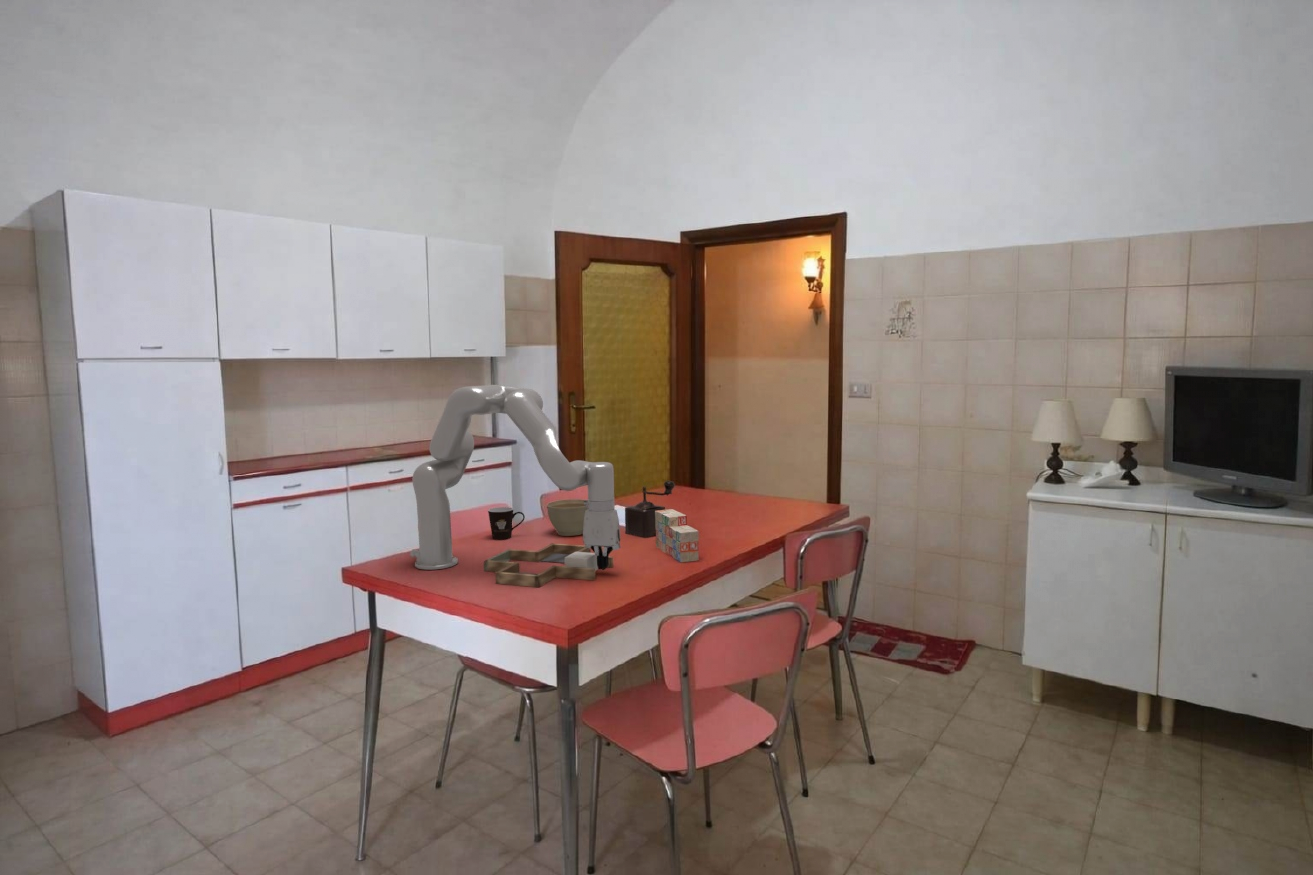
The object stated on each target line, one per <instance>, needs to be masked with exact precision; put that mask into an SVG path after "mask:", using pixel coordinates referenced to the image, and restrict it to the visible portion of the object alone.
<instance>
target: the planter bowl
mask: <svg viewBox="0 0 1313 875" xmlns="http://www.w3.org/2000/svg"><path fill="white" fill-rule="evenodd" d="M587 500H588V499H584V498H583V499H581V498H575V499H574V498H572V499H560V500H559V499H558V500H554V501H550V502H548V503H547V504H546V509H547V516H548V519H549V521H550V523H551V525H552V526H553V528H554V529H555V530H556V532H557V535H559V536H562V537H563V536H564V537H569V536H570V537H571V536H572V537H574V536H580V535H583V524H584V516H585V511H586V510H588V508H587V506H586V505H584V501H587Z"/></svg>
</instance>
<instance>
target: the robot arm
mask: <svg viewBox="0 0 1313 875" xmlns="http://www.w3.org/2000/svg"><path fill="white" fill-rule="evenodd" d="M543 408H544V401H543V398H542V395H541V394H539V393H538V391H535V390H533V389H530V388H524V387H523V388H522V387H516V386H515V387H514V386H508V385H501V384H500V385H499V384H487V385H485V384H484V385H472V386H470V385H469V386H463V387H459V388H457V389H455V390H454V391H453V392H452V393H451V394H450V395H449V397H448V399H447V401H446V404H445V407H444V410H443V412H442V414H441V416H440V419H439V422H438V424H437V425H436V427H435V430H434V432H433V435H432V438H431V439H430V443H429V453H430V455H431V457H432V458H434V459H433V460H429V461H425V462H424V463H421V464H420V465H419V466H417V467H416V468H415V470H414V471H413V474H412V480H411V481H412V487H413V490H414V494H415V495H414V496H415V500H416V510H417V511H416V512H417V513H416V514H417V528H418V531H417V532H418V548H419V549H416V548H413V549H411V552H409V557H411V558H416V561H415V562H414V567H415V568H417V569H418V570H419V569H420V570H427V571H429V570H431V571H433V570H441V569H443V570H444V569H447V568H451V567H454V566H456V565H457V564H458V563H459V560H458V557H456V556H453V542H452V541H453V539H452V538H453V537H452V523H451V522H452V521H451V508H450V507H451V506H450V505H451V504H450V500H449V497H448V495H447V491H446V490H448V489H450V488H453V487H455V486H457V484H458V483H459V482H460V481H461V480H462V477H463V476H464V473H465V471H466V468H467V466H468V464H469V461H470V459H471V457H472V455H473V452H474V450H475V449H474V448H475V439H474V436H473V434H472V432H471V431H470V430H469V428H470V426H471V423H472V422H471V421H472V416H473V415H480V416H481V415H491V414H495V413H496V414H503V415H507V416H508V418H510V420H511V421H512V423H513V424H514V425H515V426H516V427H517V428H518V430H519V431H520V432H521V433H522V434H523V436H524V437H525V438H526V439H527V441H528V442H529V444H530V445H531V446H532V448H533V452H534V454H535V457H536V459H537V462H538V464H539V465H540V468H541V469H542V470H543V472H544V473H545V474H546V475H547V477H548V478H549V479H550V480H551V482H552V483H553V484H554V485H555V486H556V487H558V489H560V490H562V491H565V492H571V491H574V490H576V489H578V488H581V487H583V486H587V499H586V500H587V501H584V505H586V506H587V508H588V510H586V511H585V516H584V524H583V534H582V542H583V544H584V546H585V547H586V548H589V549H591V551H592V552H593V553H595V555H596V556H597V566H598V570H599V571H600V570H602V571H604V570H606V569H608V568H609V567H608V565H609V557H610V556H609V555H610V554H611V552H612V551H618V550H620V549H621V526H620V520H619V516H618V515H619V514H618V510H617V509H615V476H614V474H615V472H614V471H615V470H614V465H613V463H611V462H609V461H608V462H607V461H597V462H596V461H595V462H594V461H593V462H591V461H587V460H586V461H585V460H580V459H579V460H573V461H571V462H570V461H569V460H568V458H566V456H565V455H564V453H562V451H561V449H560V447H559V445H558V442H557V427H556V426H555V424H554V423H553V422H552V421H551V420H550V418H549V417H548V416H547V415H546V413H545V412H543Z"/></svg>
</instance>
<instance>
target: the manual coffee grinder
mask: <svg viewBox="0 0 1313 875" xmlns="http://www.w3.org/2000/svg"><path fill="white" fill-rule="evenodd" d="M663 486H664V489H665V490H664V492H657V491H655V492H654V491H647V487H646V486H643V487H642V493H643V494H642V496H643V498H642V499H643V500H642V501H641V502H638V503H637V504H635V505H631V506H626V507H624V523H625V524H624V525H625V527H624V528H625V530H624V533H625V534H627V535H629V536H634V537H638V538H644V539H646V538H651V537H656V528H655V511H658V510H666V507H665V506H662V505H656V504H655V503H653V502H651V501H647V495H652V496H653V495H654V496H655V495H656V496H669V495H672V494H673V492H672V491H673V489H675V486H676V484H675V483H674V481H671V480H666V481H664V483H663Z"/></svg>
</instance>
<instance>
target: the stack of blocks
mask: <svg viewBox="0 0 1313 875" xmlns="http://www.w3.org/2000/svg"><path fill="white" fill-rule="evenodd" d="M655 528H656V536H655V547H656V548H657V549H658V550H660V551H661V552H663V553H664V554H666V555H668V556H669V557H671V558H673V559H674V560H676V561H677V562H679V563H687V562H695V561H696V562H697V561H699V558H700V557H699V548H700V547H699V540H700V538H699V535H700V534H699V533H700V532H699V530H697V529H696V528H694V527H692V526H689V525H688V516H687V515H686V514H684V513H683V512H679V511H677V510H675V509H673V508H670V509H665V510H658V511H655Z"/></svg>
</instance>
